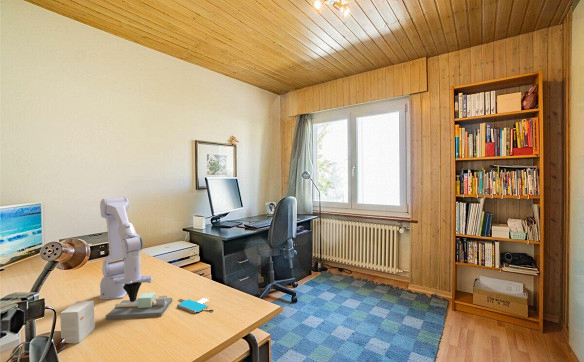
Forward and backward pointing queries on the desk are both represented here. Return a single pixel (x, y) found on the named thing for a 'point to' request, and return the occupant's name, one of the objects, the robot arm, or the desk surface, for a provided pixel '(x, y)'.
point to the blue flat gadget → (193, 305)
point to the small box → (77, 321)
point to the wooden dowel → (132, 304)
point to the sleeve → (146, 300)
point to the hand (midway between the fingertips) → (133, 300)
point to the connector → (161, 301)
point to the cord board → (137, 311)
